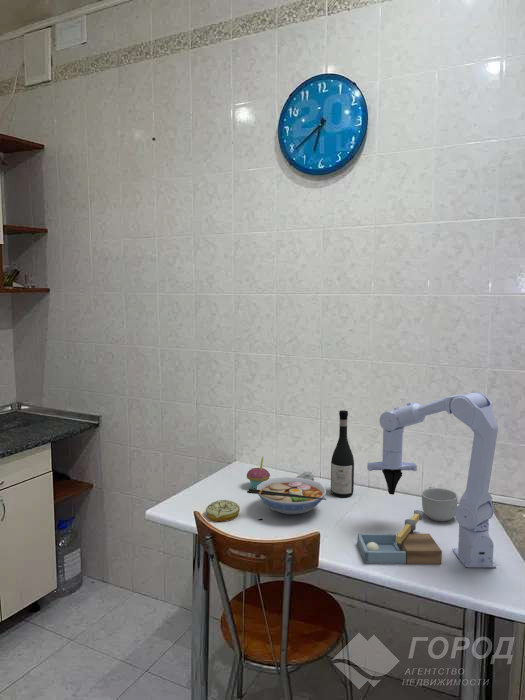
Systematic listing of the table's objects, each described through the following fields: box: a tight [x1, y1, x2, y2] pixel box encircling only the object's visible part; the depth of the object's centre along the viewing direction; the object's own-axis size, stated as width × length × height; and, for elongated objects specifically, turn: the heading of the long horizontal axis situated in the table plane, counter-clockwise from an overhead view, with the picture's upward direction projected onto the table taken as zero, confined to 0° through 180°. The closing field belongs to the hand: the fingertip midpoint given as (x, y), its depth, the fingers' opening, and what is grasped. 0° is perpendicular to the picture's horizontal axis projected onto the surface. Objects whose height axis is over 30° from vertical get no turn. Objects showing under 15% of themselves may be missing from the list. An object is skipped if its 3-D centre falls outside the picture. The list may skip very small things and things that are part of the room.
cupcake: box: [246, 456, 271, 490], centre depth 185 cm, size 9×8×12 cm
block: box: [396, 530, 443, 565], centre depth 138 cm, size 12×9×4 cm
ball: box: [366, 542, 379, 551], centre depth 135 cm, size 4×4×4 cm
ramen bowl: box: [246, 476, 327, 516], centre depth 165 cm, size 25×23×8 cm
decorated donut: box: [205, 499, 241, 522], centre depth 161 cm, size 10×11×4 cm
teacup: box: [420, 485, 459, 522], centre depth 162 cm, size 14×11×8 cm
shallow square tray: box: [357, 533, 407, 565], centre depth 137 cm, size 11×11×3 cm
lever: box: [396, 509, 424, 544], centre depth 142 cm, size 20×3×2 cm, turn 147°
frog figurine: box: [296, 471, 315, 481], centre depth 183 cm, size 6×7×7 cm
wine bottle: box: [330, 410, 355, 498], centre depth 179 cm, size 8×8×30 cm
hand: (391, 493), depth 154 cm, fingers closed
